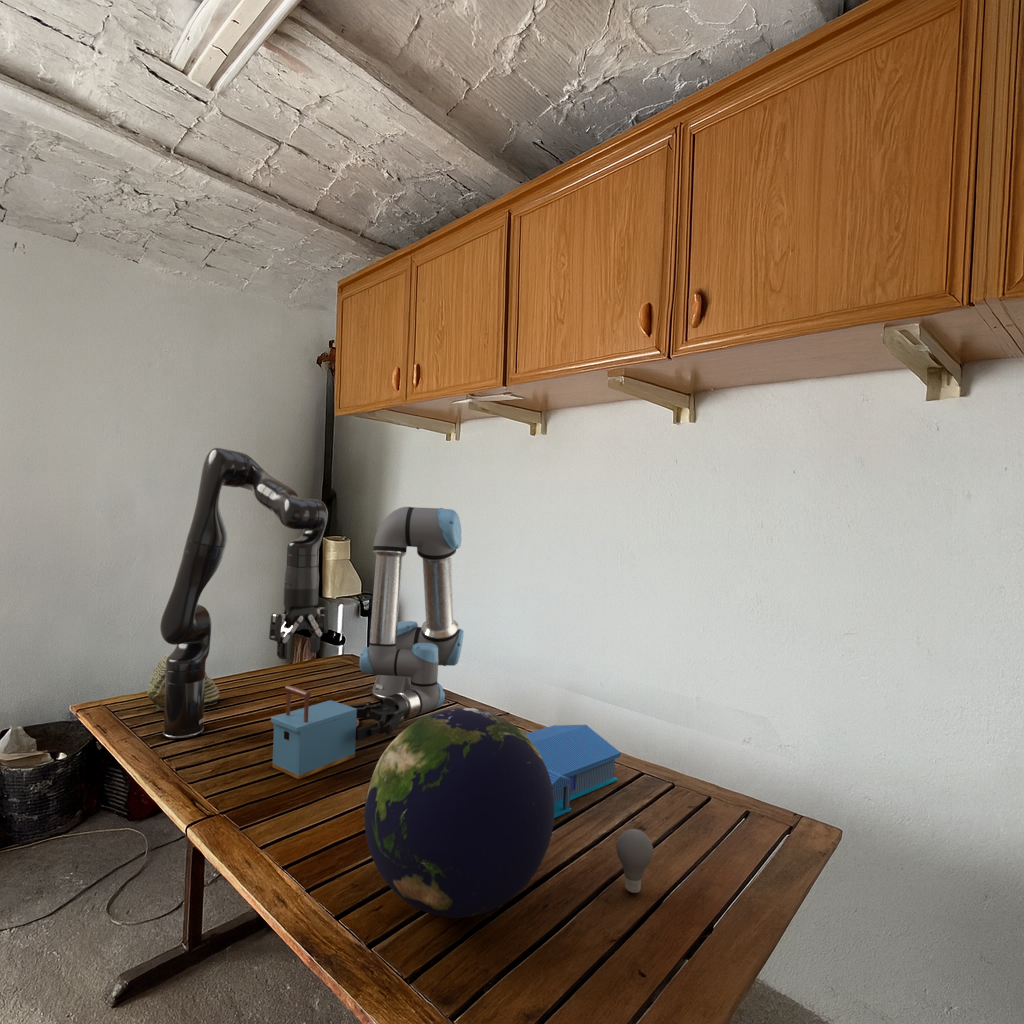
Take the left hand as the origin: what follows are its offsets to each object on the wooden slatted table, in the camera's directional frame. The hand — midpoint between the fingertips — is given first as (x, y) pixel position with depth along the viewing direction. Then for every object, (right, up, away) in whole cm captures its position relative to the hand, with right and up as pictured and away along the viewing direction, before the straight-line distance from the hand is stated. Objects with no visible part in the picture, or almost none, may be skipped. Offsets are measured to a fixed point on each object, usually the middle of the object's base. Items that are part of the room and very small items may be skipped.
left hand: (298, 655), depth 146 cm
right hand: (+6, -20, +10) cm, 23 cm away
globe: (+40, -29, -45) cm, 67 cm away
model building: (+53, -29, -5) cm, 61 cm away
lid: (+2, -16, +4) cm, 17 cm away
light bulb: (+69, -30, -40) cm, 86 cm away
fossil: (-47, -24, +39) cm, 66 cm away
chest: (+2, -27, +5) cm, 27 cm away
